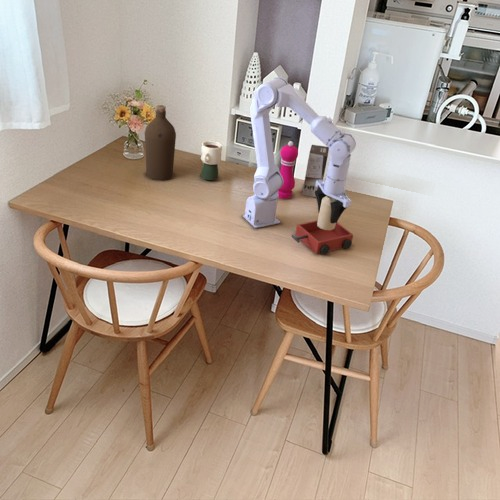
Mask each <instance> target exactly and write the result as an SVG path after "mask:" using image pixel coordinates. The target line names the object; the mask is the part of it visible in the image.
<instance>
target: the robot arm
mask: <svg viewBox="0 0 500 500" xmlns="http://www.w3.org/2000/svg"><path fill="white" fill-rule="evenodd" d="M274 107H276V108H289V109H290V110H292V111H293V112H294V113H295V114H296V115H298V116H299V118H301V119H303V120H304V121H305V122H306V123H307V124H308V125H309V126H310V131H311V133H312V134H313V136H315V137H316V138H317V139H318V140H319V141H320V142H322V144H324V145H325V147H328V148H329V151H328V154H329V155H330V157H329V161H328V167H327V171H326V176H325V180H324V179H323V180H316V185H315V186H316V187H319V189H318V190H316V191H315V195H316V197H315V198H316V202H317V212H318V214H319V212H320V207H321V202H322V198H324V197H325V196H330V197H332V198H334V199H336V200H337V201H336V202H331V203H330V204H331V219H330V222H331V223H337V222H338V221H339V219H340V217H342V214H343V213H344V212H345V211H346V209H348V208H350V207H351V205H352V200H351V199H350V198H349V196H348V195H347V193H346V188H345V187H346V186H345V185H346V181H347V177H348V173H349V168H350V165H351V163H350V162H351V157H352V153H353V152H354V150H355V149H356V146H357V143H356V140H355V138H354V136H353V135H352V134H351V133H346V132H345V131H344V130H343V129H342V130H341V129H340V128H339V127H338V126H337V125H336V124H335V123H334V122H333V119H332V118H331V117H327V116H326V115H319V114H318V113H317V112H316V111H315V110H314V109H313V108H312V107H311V105H310V104H308V102H307V101H306V100H304V98H303V97H302V96H301V95H300V94H299V93H298V92H297V91H296V89H295V87H294V86H293V85H292V84H291V83H289V82H288V81H287V80H286V78H284V77H280V76H278V77H275V78H273V79H271V80H269V81H266V82H263V83H261V84H260V85H259V86H258V87H257V88H255V90H254V91H253V97H252V101H251V104H250V106H249V113H250V114H249V115H250V121H251V123H250V124H251V129H252V137H253V145H254V150H255V151H254V153H255V159H256V167H257V168H256V170H255V173H254V176H253V185H252V191H253V195H251V196H248V197H247V198H246V201H245V209H244V210H245V211H244V214H243V215H242V217H243V218H244V219H245V220H246V221H247V222H248V223H249V224H250V225H251V226H253V228H254V229H258V228H263V227H268V226H273V225H278V224H280V223H281V221H280V220H279V219H278V218H277V217H276V214H277V208H278V202H279V201H278V200H279V198H278V190H279V189H280V188H281V187H282V185H283V178H282V176H281V174H280V167H279V166H278V165H277V164H276V160H275V154H274V144H273V136H272V128H271V120H270V112H271V111H272V110H273V109H274Z"/></svg>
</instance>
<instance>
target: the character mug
mask: <svg viewBox="0 0 500 500" xmlns="http://www.w3.org/2000/svg"><path fill="white" fill-rule="evenodd" d="M200 150H201V156H200V160H201V162H202V163H203V164H202V169H201V173H200V178H201V179H204V180H207V181H216V180H218V179H219V164H221V161H222V152H223V145H222V143H220V142H218V141H213V140H205V141H203V142H202V143H201V149H200Z"/></svg>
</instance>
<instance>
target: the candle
mask: <svg viewBox="0 0 500 500" xmlns="http://www.w3.org/2000/svg"><path fill="white" fill-rule="evenodd" d="M336 201H337V200H336V199H334V198H332V197H330V196H325V197H324V198H322V202H321V207H320V212H319V213H318V217H317V220H318V222H317V225H318V227H319V228H321V229H323V230H333V229H334V228H335V225H336V223H331V222H330V219H331V204H330V203H331V202H336Z"/></svg>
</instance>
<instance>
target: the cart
mask: <svg viewBox="0 0 500 500" xmlns="http://www.w3.org/2000/svg"><path fill="white" fill-rule="evenodd" d="M317 222H318V219H316V220H312V221H307V222H303V223H298V224H296V230H295V234H294V236H295V237H300V236H304V235H308V238H303V239H299V240H300V242H302V243H303V244H304V245H305V246H306V247H308V248H309V249H310V250H311V251H312V252H313V253H314V254H316V255H318V254H322V253H321V252H320V249H321V247H322V246H323V245H325V244H326V245H328V246H329V247H330V250H329V252H331V251H334V250H338V249H342V248H343V247H342V244H343V242H344V241H345V240H347V239H349V240H350V241H351V242H352V243H353V239H354V238H353V237H354V234H353V233H352V232H351V231H350V230H348V229H347V228H346V227H345V226H343V225H342V224H340V223H339V222H338V221H337V223H336V225H335V228H334V229H333V230H323V229H321V228H319V227H318V225H317ZM343 249H344V248H343Z"/></svg>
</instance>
